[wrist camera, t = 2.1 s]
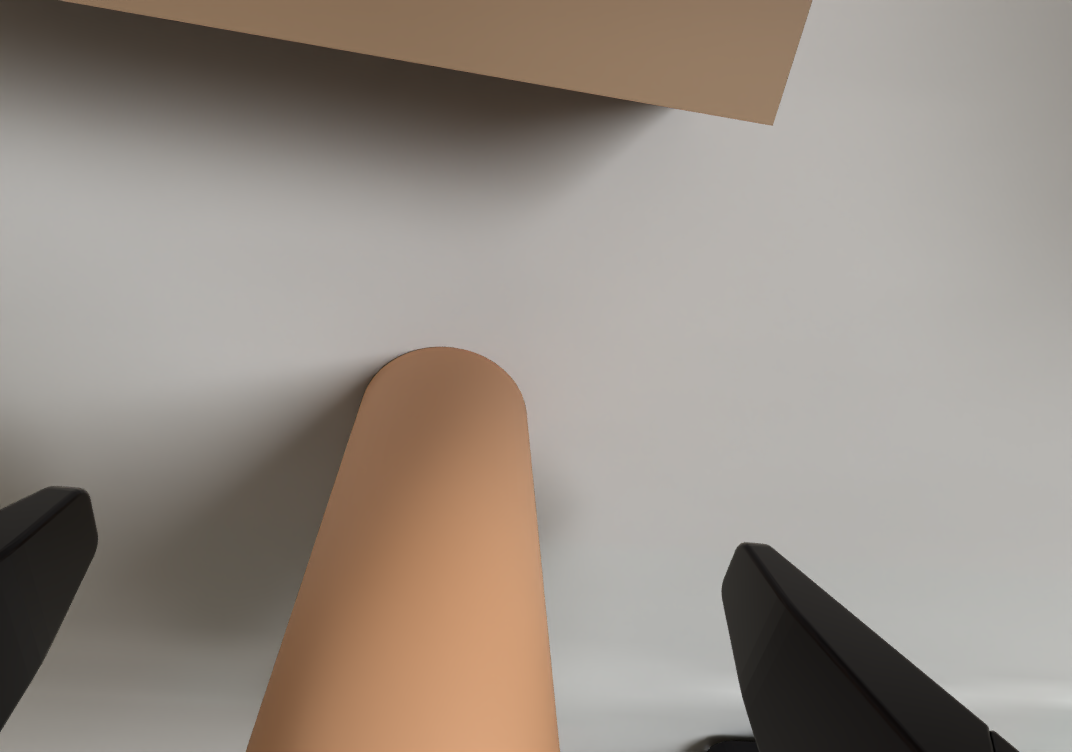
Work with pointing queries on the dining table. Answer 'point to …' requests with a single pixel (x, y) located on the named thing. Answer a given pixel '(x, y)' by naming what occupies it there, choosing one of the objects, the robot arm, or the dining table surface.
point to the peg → (422, 579)
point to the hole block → (547, 41)
